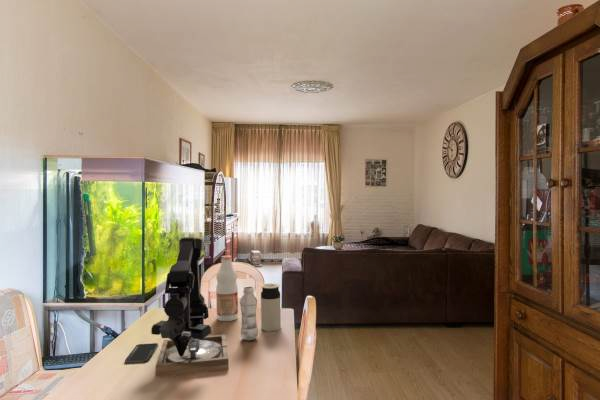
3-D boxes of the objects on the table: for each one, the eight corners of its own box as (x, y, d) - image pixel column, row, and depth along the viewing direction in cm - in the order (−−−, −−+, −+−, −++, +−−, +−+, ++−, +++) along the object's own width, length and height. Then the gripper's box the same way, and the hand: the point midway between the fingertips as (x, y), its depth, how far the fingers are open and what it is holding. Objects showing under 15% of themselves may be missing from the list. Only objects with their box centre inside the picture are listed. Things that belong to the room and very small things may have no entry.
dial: (169, 346, 141) (168, 332, 141) (220, 341, 145) (220, 328, 145) (163, 368, 124) (163, 352, 124) (221, 362, 128) (221, 347, 128)
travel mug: (273, 333, 158) (272, 288, 158) (257, 329, 162) (256, 286, 162) (284, 327, 165) (283, 284, 165) (269, 323, 169) (268, 282, 169)
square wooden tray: (163, 349, 143) (163, 339, 143) (225, 343, 148) (225, 333, 148) (156, 377, 121) (155, 365, 121) (228, 369, 126) (228, 357, 126)
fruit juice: (212, 318, 178) (211, 256, 177) (230, 313, 184) (229, 253, 183) (224, 323, 171) (223, 258, 170) (242, 318, 177) (241, 256, 177)
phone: (123, 361, 131) (137, 344, 146) (123, 365, 131) (137, 347, 146) (148, 360, 132) (159, 342, 147) (148, 363, 132) (159, 345, 147)
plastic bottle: (255, 343, 148) (254, 290, 147) (237, 342, 149) (237, 289, 149) (260, 336, 154) (259, 286, 154) (243, 335, 156) (243, 285, 155)
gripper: (139, 313, 122) (140, 363, 122) (192, 317, 117) (193, 370, 117) (161, 303, 133) (162, 349, 133) (211, 307, 127) (212, 355, 128)
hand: (181, 355), depth 127 cm, fingers closed
